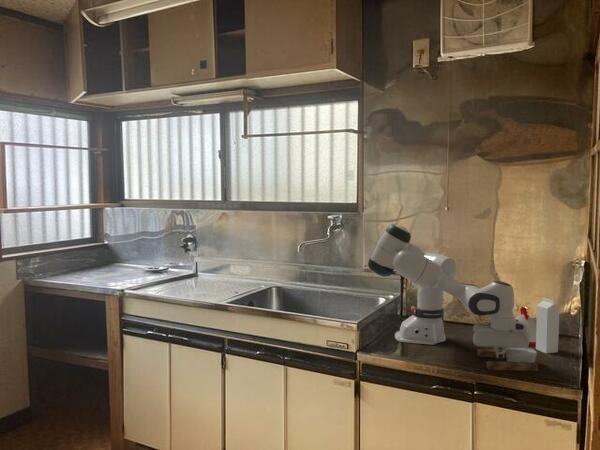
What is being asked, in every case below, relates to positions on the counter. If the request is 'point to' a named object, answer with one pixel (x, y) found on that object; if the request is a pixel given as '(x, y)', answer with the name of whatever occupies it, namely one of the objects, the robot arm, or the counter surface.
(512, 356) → the ramekin
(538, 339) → the milk
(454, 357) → the counter surface
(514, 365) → the parallel wooden rails
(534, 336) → the kitchen timer
